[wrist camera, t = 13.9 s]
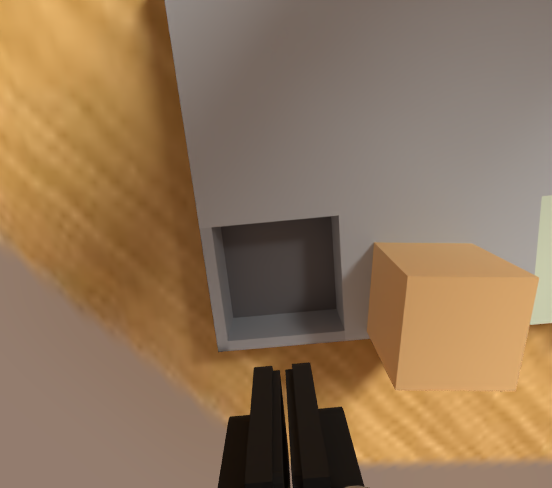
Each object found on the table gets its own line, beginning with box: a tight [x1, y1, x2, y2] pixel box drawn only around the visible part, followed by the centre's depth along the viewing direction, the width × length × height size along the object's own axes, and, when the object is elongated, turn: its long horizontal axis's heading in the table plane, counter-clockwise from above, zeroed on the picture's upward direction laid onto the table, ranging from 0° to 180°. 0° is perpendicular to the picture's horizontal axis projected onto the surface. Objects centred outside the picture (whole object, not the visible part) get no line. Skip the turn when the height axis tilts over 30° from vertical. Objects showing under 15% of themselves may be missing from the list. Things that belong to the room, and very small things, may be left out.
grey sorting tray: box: [165, 0, 552, 352], centre depth 18 cm, size 24×20×4 cm
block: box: [367, 242, 539, 391], centre depth 17 cm, size 5×5×5 cm
